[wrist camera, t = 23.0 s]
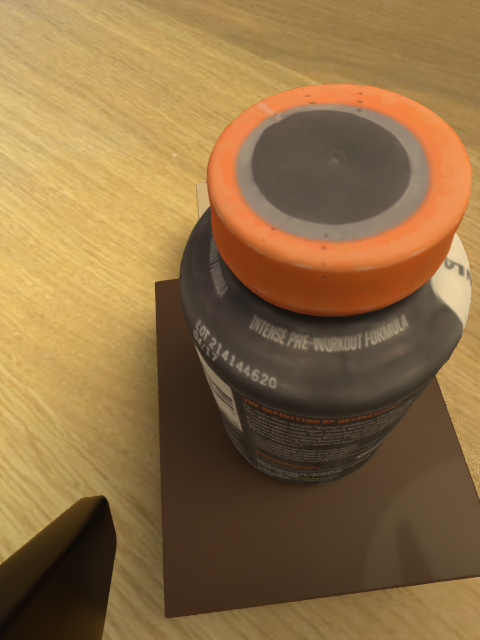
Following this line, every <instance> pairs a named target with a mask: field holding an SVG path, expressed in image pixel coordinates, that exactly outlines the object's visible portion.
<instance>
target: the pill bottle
mask: <svg viewBox="0 0 480 640" xmlns="http://www.w3.org/2000/svg"><path fill="white" fill-rule="evenodd" d="M471 187H472V170H471V165H470V160H469V157H468V154H467V152H466V151H465V149H464V147H463V145H462V143H461V141H460V139H459V137H458V136H457V135H456V133H455V132H454V131H453V130H452V128H451V127H450V126H449V125H448V124H447V123H446V122H445V121H443V120H442V119H441V118H440V117H438V116H437V115H436V114H435V113H434V112H432V111H431V110H429V109H428V108H426V107H424V106H423V105H421V104H419V103H417V102H415V101H413V100H411V99H409V98H407V97H404V96H402V95H399V94H396V93H393V92H390V91H387V90H384V89H380V88H377V87H371V86H363V85H353V84H323V85H312V86H306V87H300V88H295V89H292V90H288V91H285V92H282V93H279V94H276V95H273V96H270V97H268V98H266V99H263V100H261V101H260V102H258V103H256V104H254V105H253V106H251V107H249V108H248V109H246V110H245V111H244V112H242V113H241V114H240V115H239V116H238V117H237V118H236V119H235V120H234V121H232V122H231V123H230V124H229V125H228V126H227V127H226V128H225V130H224V131H223V133H222V134H221V135H220V137H219V138H218V140H217V142H216V144H215V146H214V148H213V150H212V153H211V155H210V158H209V162H208V168H207V190H208V197H209V202H210V206H209V207H208V209H207V210H206V211H205V212H204V214H203V215H202V216H201V218H200V219H199V220H198V222H197V224H196V225H195V227H194V229H193V230H192V233H191V235H190V237H189V239H188V242H187V244H186V247H185V250H184V253H183V257H182V261H181V266H180V277H179V279H180V298H181V305H182V309H183V314H184V317H185V320H186V322H187V325H188V329H189V331H190V334H191V336H192V339H193V342H194V344H195V347H196V350H197V353H198V355H199V358H200V361H201V364H202V366H203V369H204V372H205V375H206V378H207V380H208V383H209V386H210V388H211V390H212V392H213V395H214V398H215V401H216V403H217V406H218V409H219V411H220V414H221V417H222V420H223V423H224V426H225V428H226V431H227V433H228V435H229V437H230V439H231V440H232V442H233V444H234V445H235V447H236V448H237V449H238V451H239V452H240V453H241V454H242V456H243V457H244V458H245V459H246V460H247V461H248V462H249V463H250V464H252V465H253V466H254V467H255V468H256V469H258V470H259V471H260V472H262V473H264V474H266V475H268V476H271V477H273V478H275V479H278V480H280V481H282V482H286V483H291V484H298V485H320V484H327V483H331V482H334V481H336V480H338V479H340V478H343V477H345V476H347V475H349V474H352V473H353V472H355V471H356V470H358V469H360V468H361V467H362V466H363V465H365V464H366V463H367V462H368V461H369V460H370V458H371V457H372V456H373V455H374V453H375V452H376V451H377V449H378V448H379V447H380V446H381V444H382V443H383V442H384V441H385V439H386V438H387V436H388V435H389V434H390V432H391V431H392V430H393V428H394V427H395V426H396V425H397V424H398V423H399V421H400V420H401V419H402V417H403V416H404V415H405V414H406V412H407V411H408V410H409V408H410V407H411V406H412V404H413V403H414V402H415V401H416V400H417V398H418V397H419V396H420V395H421V394H422V392H423V391H424V389H425V388H426V387H427V385H428V384H429V383H430V382H431V380H432V379H433V378H434V376H435V375H436V374H437V373H438V371H439V369H440V368H441V367H442V366H443V365H444V364H445V363H446V362H447V361H448V360H449V358H450V356H451V354H452V353H453V351H454V349H455V347H456V346H457V344H458V342H459V340H460V339H461V337H462V334H463V331H464V328H465V325H466V321H467V318H468V315H469V310H470V304H471V275H470V268H469V262H468V259H467V255H466V253H465V250H464V247H463V245H462V243H461V241H460V239H459V237H458V235H457V234H456V230H457V228H458V226H459V224H460V223H461V221H462V218H463V216H464V213H465V211H466V208H467V206H468V203H469V199H470V195H471Z"/></svg>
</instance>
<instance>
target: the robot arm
mask: <svg viewBox="0 0 480 640" xmlns="http://www.w3.org/2000/svg"><path fill="white" fill-rule="evenodd" d="M116 544H117V541H116V532H115V528H114V524H113V520H112V516H111V511H110V507H109V503H108V501H107V499H106V497H104V496H103V495H100V496H92V497H84V498H81V499H80V500H78V501H77V502H76V503H75V504H73V505H72V506H71V507H70V508H69V509H67V510H66V511H65V512H64V513H62V514H61V515H60V516H59V517H58V518H56V519H55V520H54V521H53V522H52V523H50V524H49V525H48V526H47V527H46V528H44V529H43V530H42V531H41V532H39V533H38V534H37V535H36V536H35V537H33V538H32V539H31V540H30V541H29V542H27V543H26V544H25V545H24V546H23V547H21V548H20V549H19V550H18V551H16V552H15V553H14V554H13V555H12V556H10V557H9V558H8V559H7V560H6V561H4V562H3V563H2V564H1V565H0V640H102V635H103V630H104V624H105V618H106V611H107V605H108V598H109V592H110V585H111V579H112V572H113V566H114V559H115V553H116Z"/></svg>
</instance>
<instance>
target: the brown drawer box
mask: <svg viewBox="0 0 480 640" xmlns="http://www.w3.org/2000/svg"><path fill="white" fill-rule="evenodd" d="M155 299H156V333H157V366H158V400H159V434H160V468H161V502H162V536H163V569H164V603H165V617H166V618H167V619H168V618H175V617H182V616H190V615H197V614H205V613H212V612H220V611H227V610H235V609H242V608H250V607H257V606H264V605H272V604H279V603H287V602H294V601H302V600H309V599H317V598H324V597H331V596H339V595H346V594H354V593H361V592H369V591H376V590H384V589H391V588H398V587H406V586H413V585H421V584H428V583H436V582H443V581H451V580H458V579H465V578H473V577H480V500H479V497H478V494H477V492H476V489H475V486H474V483H473V480H472V477H471V475H470V472H469V469H468V466H467V463H466V461H465V458H464V455H463V452H462V449H461V446H460V444H459V441H458V438H457V435H456V432H455V430H454V427H453V424H452V421H451V418H450V415H449V413H448V410H447V407H446V404H445V401H444V399H443V396H442V393H441V390H440V387H439V384H438V382H437V379H436V376H434V378H433V379H432V380H431V382H430V383H429V384H428V385H427V387H426V388H425V389H424V391H423V392H422V394H421V395H420V396H419V397H418V398H417V400H416V401H415V402H414V403H413V404H412V406H411V407H410V408H409V410H408V411H407V412H406V414H405V415H404V416H403V417H402V419H401V420H400V421H399V423H398V424H397V425H396V426H395V427H394V428H393V430H392V431H391V432H390V434H389V435H388V436H387V438H386V439H385V441H384V442H383V443H382V444H381V446H380V447H379V448H378V449H377V451H376V452H375V453H374V455H373V456H372V457H371V458H370V460H369V461H368V462H367V463H366V464H365V465H363V466H362V467H361V468H360V469H358V470H356V471H355V472H353V473H352V474H349V475H347V476H345V477H343V478H340V479H338V480H336V481H334V482H331V483H327V484H320V485H298V484H291V483H286V482H282V481H280V480H278V479H275V478H273V477H271V476H268V475H266V474H264V473H262V472H260V471H259V470H258V469H256V468H255V467H254V466H253V465H252V464H250V463H249V462H248V461H247V460H246V459H245V458H244V457H243V456H242V454H241V453H240V452H239V451H238V449H237V448H236V447H235V445H234V444H233V442H232V440H231V439H230V437H229V435H228V433H227V431H226V428H225V426H224V423H223V420H222V417H221V414H220V411H219V409H218V406H217V403H216V401H215V398H214V395H213V392H212V390H211V388H210V386H209V383H208V380H207V378H206V375H205V372H204V369H203V366H202V364H201V361H200V358H199V355H198V353H197V350H196V347H195V344H194V342H193V339H192V336H191V334H190V331H189V329H188V325H187V322H186V320H185V317H184V314H183V309H182V305H181V298H180V279H173V280H165V281H158V282H155Z"/></svg>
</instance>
